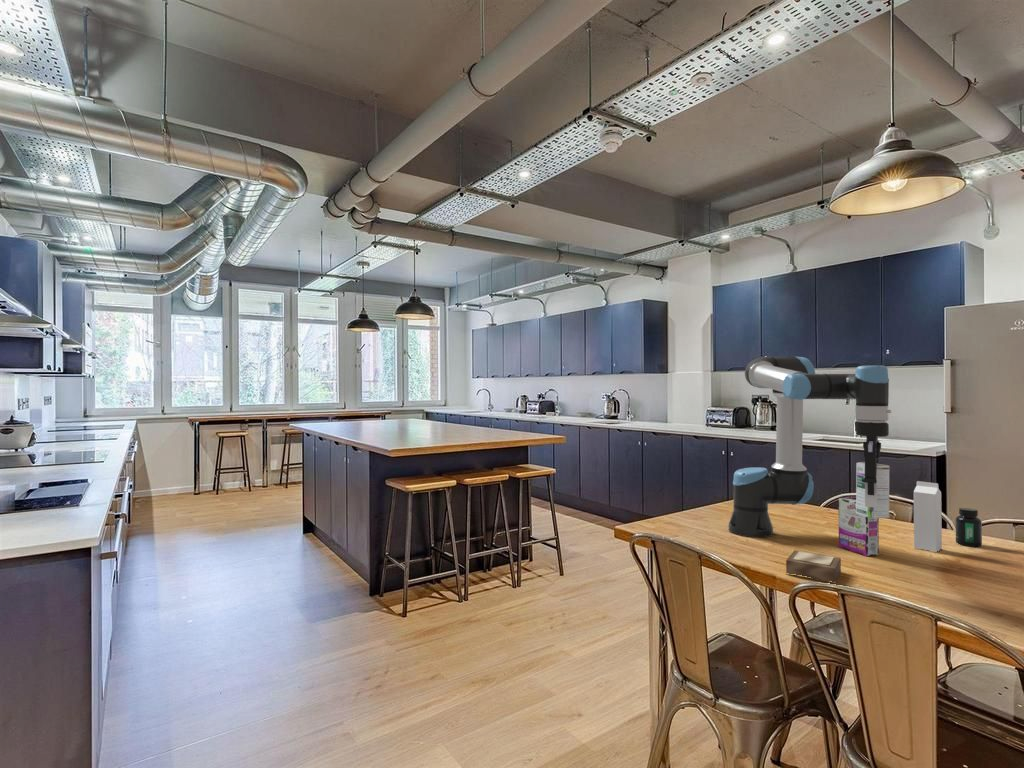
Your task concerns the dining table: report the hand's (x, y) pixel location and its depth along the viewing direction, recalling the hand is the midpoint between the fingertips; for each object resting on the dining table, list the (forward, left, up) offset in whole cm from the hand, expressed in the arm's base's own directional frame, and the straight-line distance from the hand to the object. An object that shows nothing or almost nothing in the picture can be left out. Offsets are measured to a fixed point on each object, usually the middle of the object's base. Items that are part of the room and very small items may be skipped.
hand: (872, 504), depth 149 cm
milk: (+12, +47, -21) cm, 53 cm away
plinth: (-14, -3, -21) cm, 25 cm away
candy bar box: (-6, +30, -21) cm, 37 cm away
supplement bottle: (+23, +62, -21) cm, 69 cm away
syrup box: (0, 0, -4) cm, 4 cm away
